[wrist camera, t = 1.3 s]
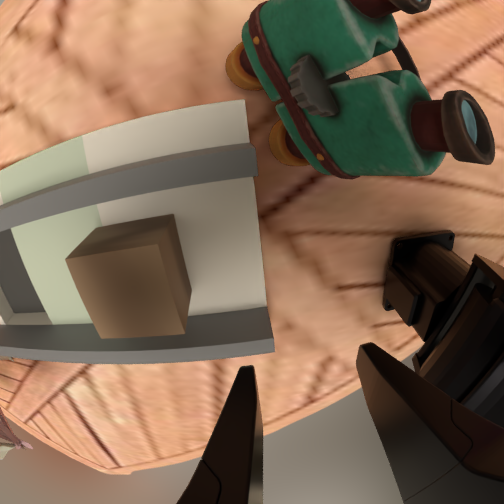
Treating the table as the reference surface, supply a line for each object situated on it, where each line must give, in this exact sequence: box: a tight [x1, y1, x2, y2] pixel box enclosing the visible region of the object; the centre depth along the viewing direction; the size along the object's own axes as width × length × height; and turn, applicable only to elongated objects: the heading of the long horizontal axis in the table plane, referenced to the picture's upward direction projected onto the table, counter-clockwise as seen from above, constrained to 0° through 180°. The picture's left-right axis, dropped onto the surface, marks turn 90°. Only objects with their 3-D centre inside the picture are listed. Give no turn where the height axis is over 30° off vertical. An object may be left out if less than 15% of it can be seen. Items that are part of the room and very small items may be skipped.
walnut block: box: [65, 214, 192, 339], centre depth 14 cm, size 5×5×4 cm
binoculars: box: [226, 0, 495, 179], centre depth 9 cm, size 9×11×10 cm
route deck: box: [0, 99, 275, 364], centre depth 15 cm, size 25×16×5 cm, turn 96°
